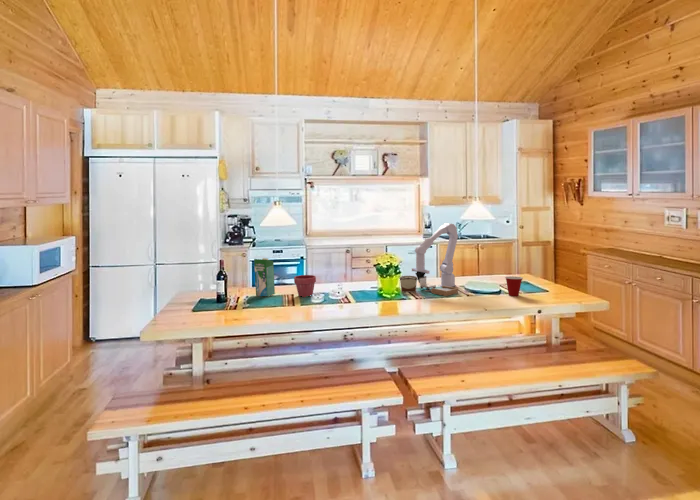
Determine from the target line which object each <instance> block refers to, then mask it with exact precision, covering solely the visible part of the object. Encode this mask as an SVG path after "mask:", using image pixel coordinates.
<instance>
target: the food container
mask: <svg viewBox="0 0 700 500" xmlns="http://www.w3.org/2000/svg"><path fill="white" fill-rule="evenodd" d="M399 279H400V280H399V281H400V289H401V293H416V292H417V291H416V290H417V282H418V278H417V276H415V275H402V276H400V277H399Z"/></svg>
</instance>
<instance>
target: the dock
mask: <svg viewBox="0 0 700 500" xmlns="http://www.w3.org/2000/svg"><path fill="white" fill-rule="evenodd" d="M458 291H459V288H458V287H455V286H453V287H449V286H442V287H441V288H438V287H437V288H436V287H435V288H429V290H427V289H424V290H423V292H431V294H433V295H434V294H435V295H440V296H444V297H448V296H451V295H455V294H458V293H459V292H458Z"/></svg>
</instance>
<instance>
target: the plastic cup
mask: <svg viewBox="0 0 700 500" xmlns="http://www.w3.org/2000/svg"><path fill="white" fill-rule="evenodd" d="M504 278H505V281H506V287H507V294H508V296H509V297H519V294H520V291H521V286H522V281H523V278H524V277H522V276H513V275H512V276H504Z"/></svg>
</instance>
